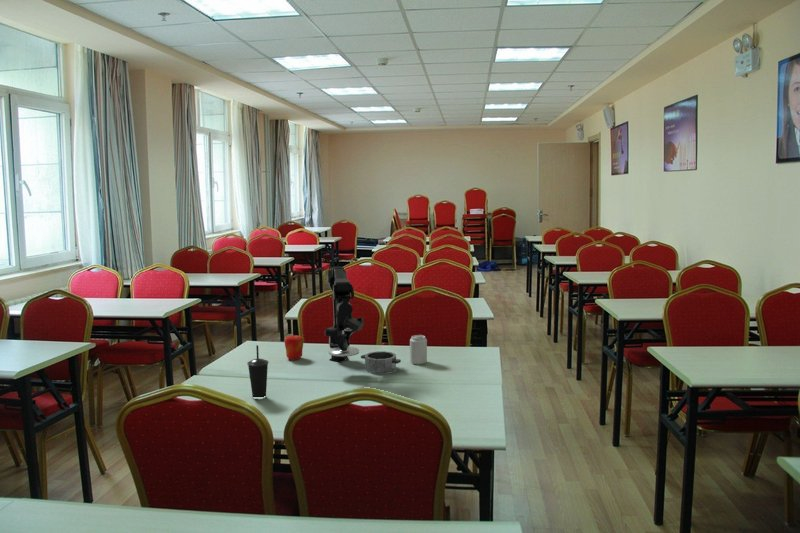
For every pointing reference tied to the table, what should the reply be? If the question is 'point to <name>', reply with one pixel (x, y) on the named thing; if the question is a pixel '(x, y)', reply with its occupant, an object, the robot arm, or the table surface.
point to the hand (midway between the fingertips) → (343, 348)
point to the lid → (344, 350)
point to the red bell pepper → (294, 347)
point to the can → (418, 349)
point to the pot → (380, 362)
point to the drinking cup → (258, 375)
